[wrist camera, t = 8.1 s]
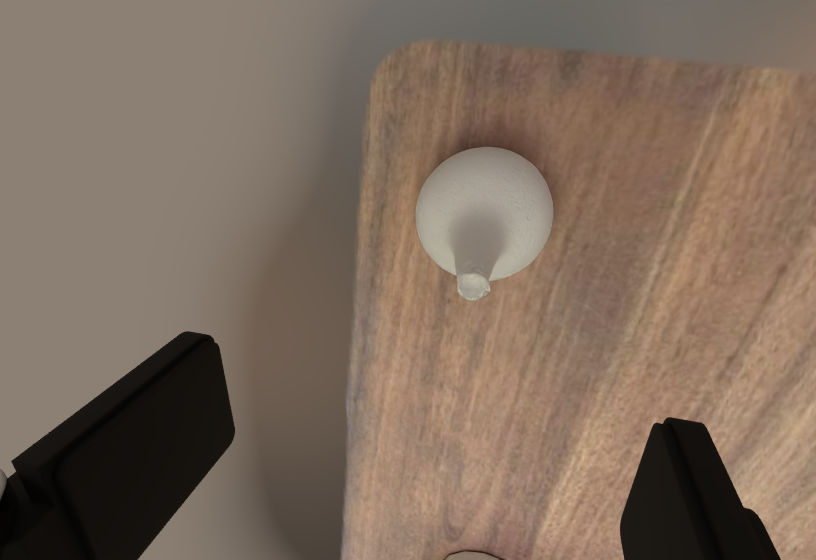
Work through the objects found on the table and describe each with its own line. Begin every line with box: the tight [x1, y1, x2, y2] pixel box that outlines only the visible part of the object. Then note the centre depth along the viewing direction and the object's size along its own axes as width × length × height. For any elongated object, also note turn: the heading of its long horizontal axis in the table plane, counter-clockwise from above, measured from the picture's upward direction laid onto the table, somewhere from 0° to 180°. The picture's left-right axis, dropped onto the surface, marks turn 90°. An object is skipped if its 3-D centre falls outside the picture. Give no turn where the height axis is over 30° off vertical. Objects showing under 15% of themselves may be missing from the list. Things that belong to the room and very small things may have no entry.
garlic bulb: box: [415, 147, 554, 301], centre depth 19 cm, size 6×6×8 cm
